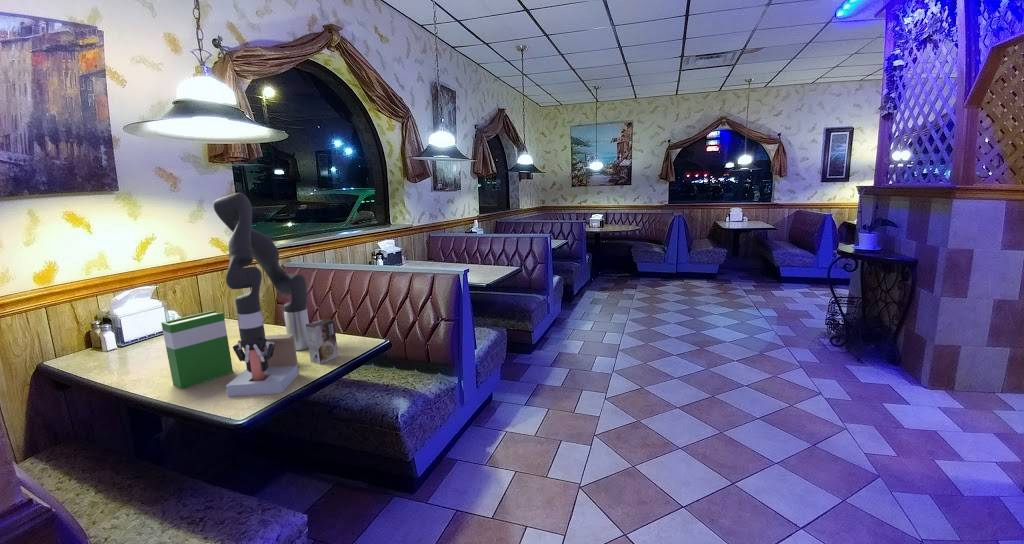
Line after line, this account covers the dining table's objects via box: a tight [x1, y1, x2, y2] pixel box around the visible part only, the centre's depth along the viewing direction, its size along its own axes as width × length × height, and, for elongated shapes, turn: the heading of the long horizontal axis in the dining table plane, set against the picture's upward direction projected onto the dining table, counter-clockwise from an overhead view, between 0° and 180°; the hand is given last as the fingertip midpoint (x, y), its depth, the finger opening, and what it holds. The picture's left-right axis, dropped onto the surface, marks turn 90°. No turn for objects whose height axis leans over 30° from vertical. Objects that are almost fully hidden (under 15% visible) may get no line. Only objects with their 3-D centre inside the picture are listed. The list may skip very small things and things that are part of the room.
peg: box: [249, 350, 266, 381], centre depth 163 cm, size 4×4×12 cm
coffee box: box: [306, 318, 339, 365], centre depth 188 cm, size 9×6×16 cm
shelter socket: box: [225, 333, 300, 397], centre depth 166 cm, size 16×18×16 cm
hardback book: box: [160, 310, 234, 390], centre depth 173 cm, size 18×7×24 cm, turn 145°
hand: (258, 370), depth 163 cm, fingers closed on peg, 4 cm apart
